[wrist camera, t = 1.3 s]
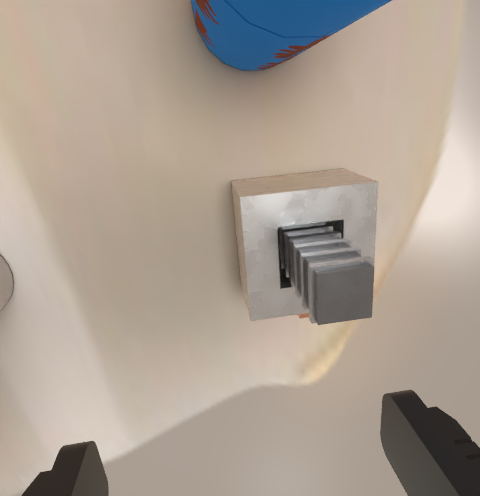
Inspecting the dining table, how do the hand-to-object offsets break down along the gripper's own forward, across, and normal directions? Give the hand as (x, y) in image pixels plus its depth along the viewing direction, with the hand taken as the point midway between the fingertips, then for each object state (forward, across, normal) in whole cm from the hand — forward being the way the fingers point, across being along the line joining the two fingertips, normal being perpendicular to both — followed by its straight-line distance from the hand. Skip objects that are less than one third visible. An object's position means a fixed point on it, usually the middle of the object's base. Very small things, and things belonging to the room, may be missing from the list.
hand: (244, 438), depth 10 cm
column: (+30, -8, +4) cm, 31 cm away
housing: (+30, -8, +4) cm, 31 cm away
